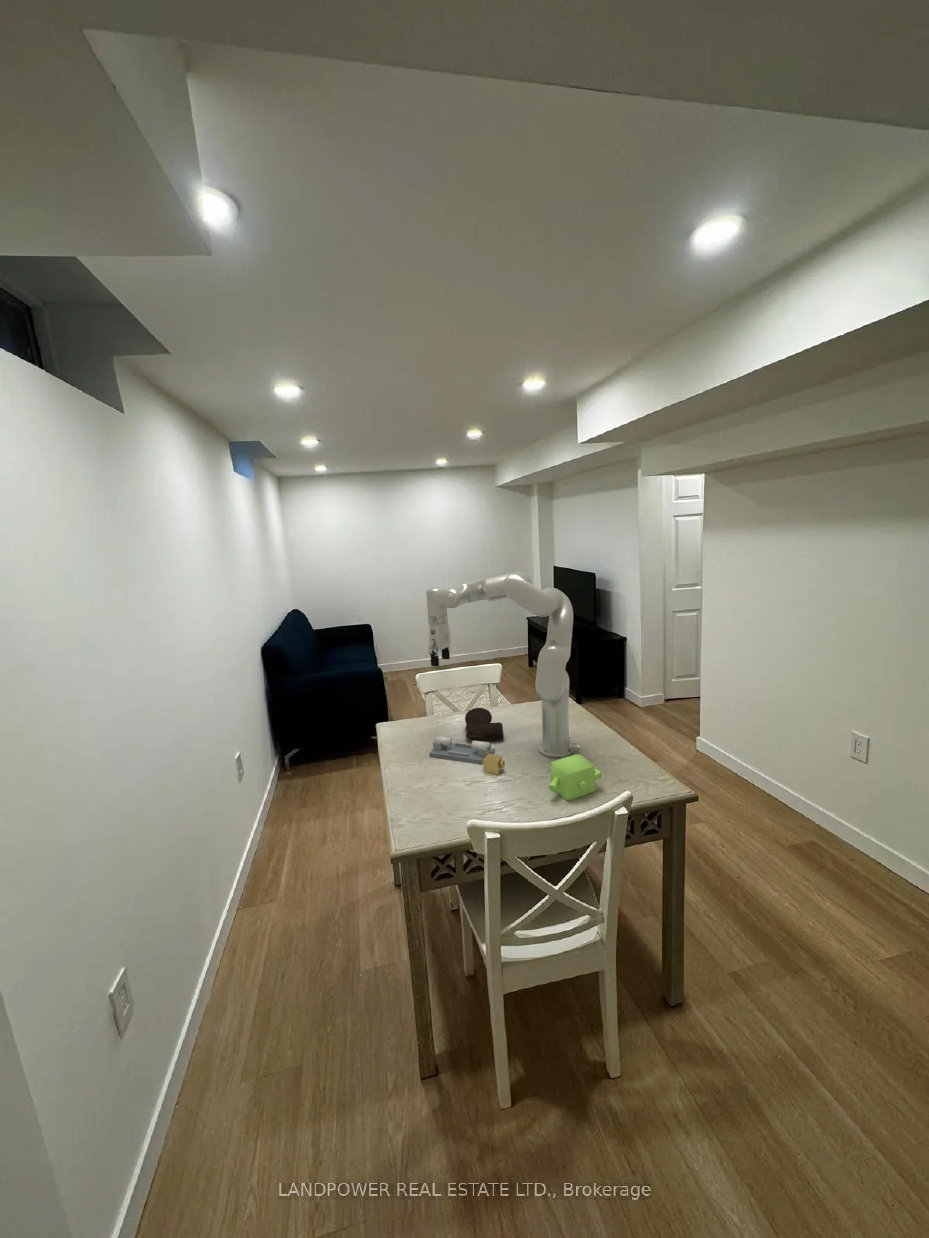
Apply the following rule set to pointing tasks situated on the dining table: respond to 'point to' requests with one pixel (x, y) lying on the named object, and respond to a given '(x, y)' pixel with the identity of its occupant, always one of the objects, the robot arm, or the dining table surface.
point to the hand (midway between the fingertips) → (440, 662)
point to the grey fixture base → (460, 750)
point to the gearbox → (573, 776)
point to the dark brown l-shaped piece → (482, 725)
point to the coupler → (493, 764)
